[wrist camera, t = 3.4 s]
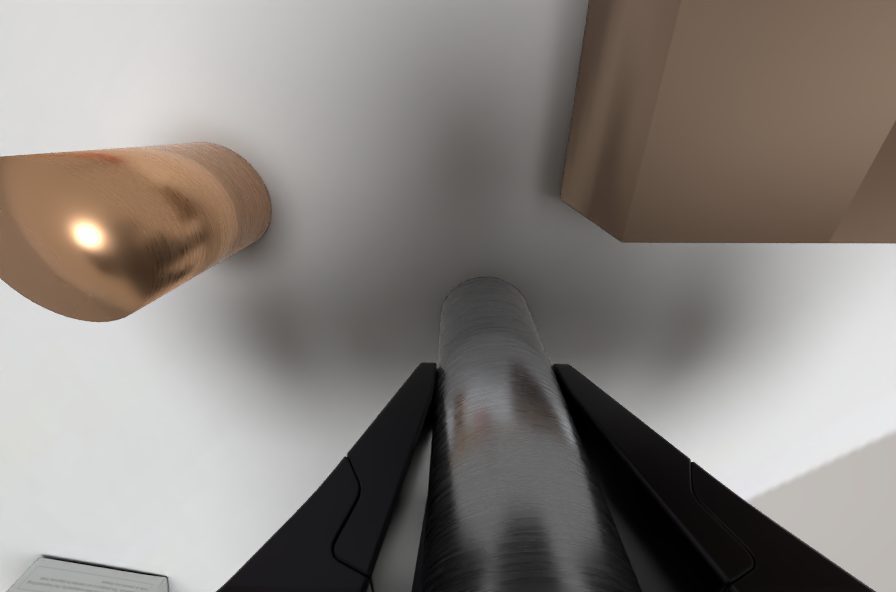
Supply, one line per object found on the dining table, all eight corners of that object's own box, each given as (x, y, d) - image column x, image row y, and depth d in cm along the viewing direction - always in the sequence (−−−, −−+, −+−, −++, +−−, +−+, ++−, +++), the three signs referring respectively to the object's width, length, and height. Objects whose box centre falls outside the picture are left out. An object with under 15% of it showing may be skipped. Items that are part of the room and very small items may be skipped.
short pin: (281, 246, 10) (174, 322, 6) (188, 246, 11) (24, 321, 7) (255, 142, 9) (99, 156, 5) (148, 142, 9) (-90, 156, 5)
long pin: (523, 352, 12) (655, 790, 4) (441, 351, 12) (415, 782, 4) (532, 277, 11) (756, 716, 3) (440, 277, 11) (398, 708, 3)
